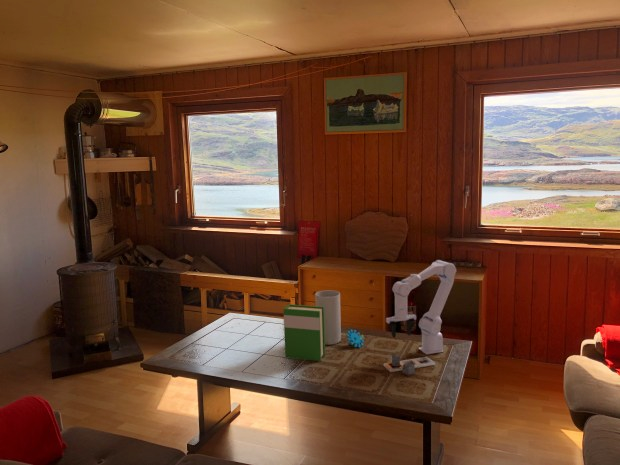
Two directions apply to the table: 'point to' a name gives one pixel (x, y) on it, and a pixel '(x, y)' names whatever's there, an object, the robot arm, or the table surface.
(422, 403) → the table surface
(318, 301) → the cylinder vase
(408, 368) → the grey wood-grain cube
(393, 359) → the dark square post
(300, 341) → the hardback book
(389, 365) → the square hole plate
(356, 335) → the gear
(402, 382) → the table surface
